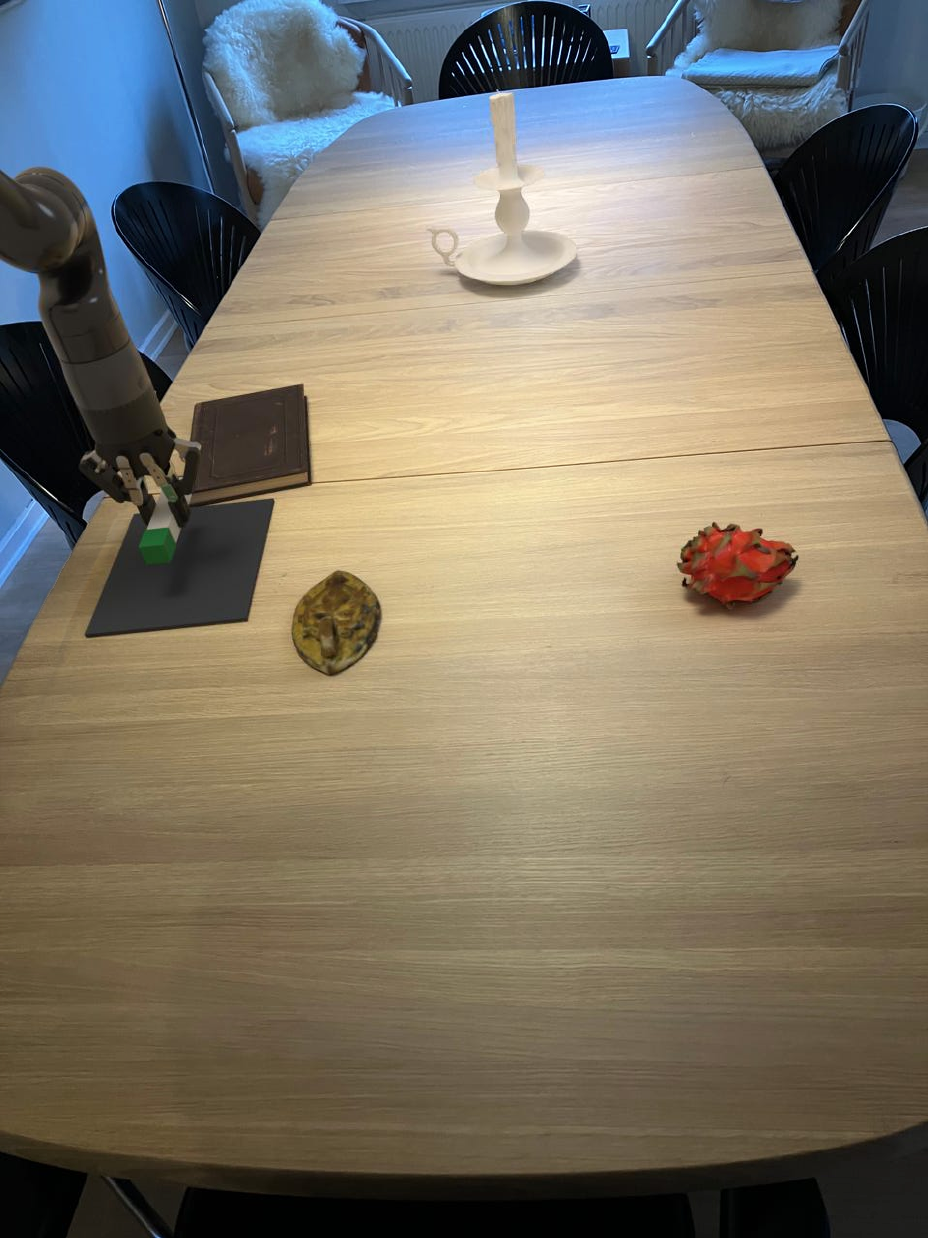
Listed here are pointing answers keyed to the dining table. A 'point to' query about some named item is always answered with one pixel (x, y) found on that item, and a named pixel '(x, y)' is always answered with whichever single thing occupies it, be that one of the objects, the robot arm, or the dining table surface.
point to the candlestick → (509, 217)
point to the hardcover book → (251, 445)
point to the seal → (335, 622)
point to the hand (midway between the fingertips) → (170, 524)
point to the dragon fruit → (735, 564)
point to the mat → (187, 573)
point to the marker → (161, 533)
